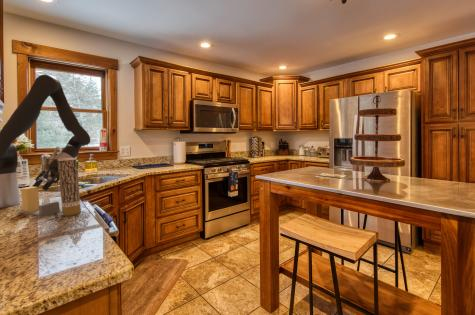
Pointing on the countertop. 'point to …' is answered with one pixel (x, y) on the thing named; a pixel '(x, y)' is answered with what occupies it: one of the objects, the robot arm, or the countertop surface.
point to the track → (45, 209)
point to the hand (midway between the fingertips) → (38, 189)
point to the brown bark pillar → (69, 186)
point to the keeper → (30, 199)
